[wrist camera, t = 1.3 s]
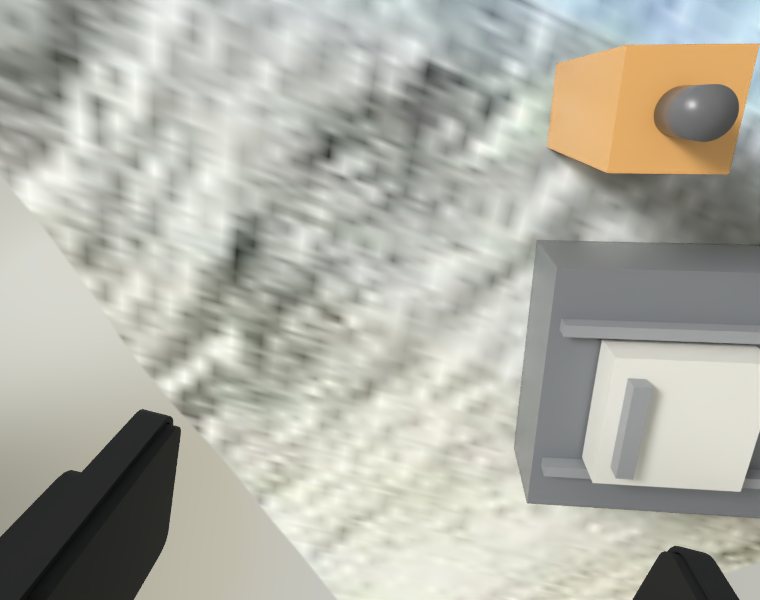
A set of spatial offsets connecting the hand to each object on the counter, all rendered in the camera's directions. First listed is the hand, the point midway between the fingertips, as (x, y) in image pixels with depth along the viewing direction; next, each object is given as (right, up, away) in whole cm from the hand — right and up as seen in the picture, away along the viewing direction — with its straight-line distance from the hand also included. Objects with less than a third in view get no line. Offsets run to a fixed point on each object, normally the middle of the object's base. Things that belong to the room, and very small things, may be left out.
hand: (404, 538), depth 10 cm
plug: (+10, +14, +17) cm, 24 cm away
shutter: (+14, -1, +16) cm, 21 cm away
